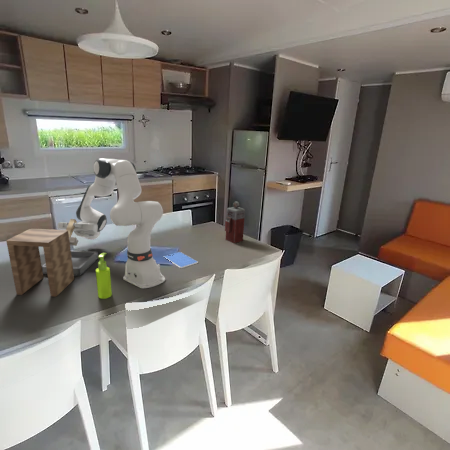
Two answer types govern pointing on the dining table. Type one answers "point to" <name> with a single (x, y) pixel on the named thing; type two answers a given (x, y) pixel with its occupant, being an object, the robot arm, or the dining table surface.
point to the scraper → (70, 230)
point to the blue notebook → (181, 260)
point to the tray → (79, 261)
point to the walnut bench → (31, 263)
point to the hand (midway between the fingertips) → (70, 224)
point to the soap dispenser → (103, 278)
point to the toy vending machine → (235, 223)
